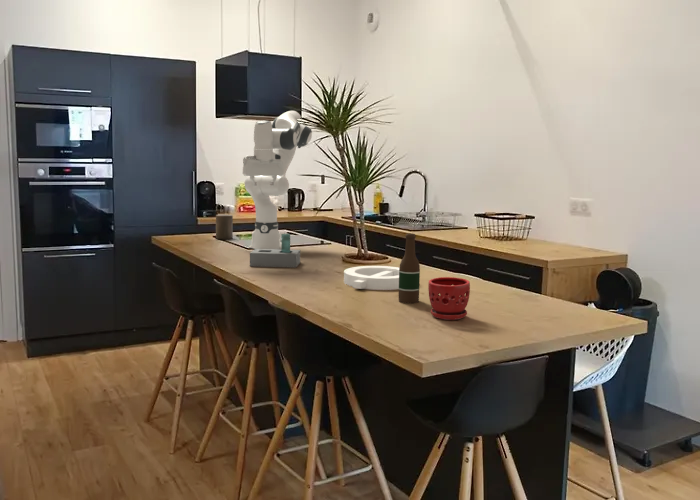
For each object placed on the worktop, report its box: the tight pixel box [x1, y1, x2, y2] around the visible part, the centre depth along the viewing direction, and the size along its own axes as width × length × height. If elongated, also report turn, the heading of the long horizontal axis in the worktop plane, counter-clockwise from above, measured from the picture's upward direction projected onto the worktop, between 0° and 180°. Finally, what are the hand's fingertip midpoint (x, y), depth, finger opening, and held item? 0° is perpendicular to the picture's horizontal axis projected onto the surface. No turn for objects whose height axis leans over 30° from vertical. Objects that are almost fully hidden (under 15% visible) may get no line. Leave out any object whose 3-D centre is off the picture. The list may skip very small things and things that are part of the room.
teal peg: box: [280, 233, 291, 253], centre depth 305 cm, size 4×4×14 cm
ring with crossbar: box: [343, 265, 400, 291], centre depth 269 cm, size 28×28×5 cm
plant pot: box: [427, 276, 471, 321], centre depth 215 cm, size 13×13×12 cm
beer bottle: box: [398, 232, 421, 304], centre depth 235 cm, size 8×8×24 cm
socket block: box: [249, 249, 301, 268], centre depth 306 cm, size 13×21×6 cm, turn 87°
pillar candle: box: [215, 213, 234, 240], centre depth 389 cm, size 10×10×15 cm
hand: (263, 185), depth 314 cm, fingers open, 8 cm apart
